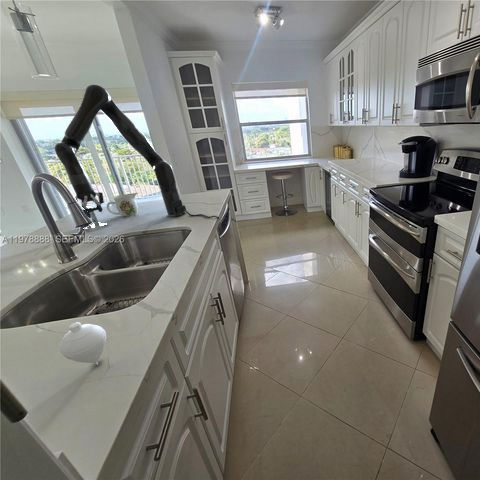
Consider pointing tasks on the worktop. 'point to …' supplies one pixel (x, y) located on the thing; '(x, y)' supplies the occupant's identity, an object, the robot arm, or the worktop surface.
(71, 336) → the spinning top
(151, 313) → the worktop surface
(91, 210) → the lever
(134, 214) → the pitcher
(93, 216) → the toaster bracket
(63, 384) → the worktop surface
